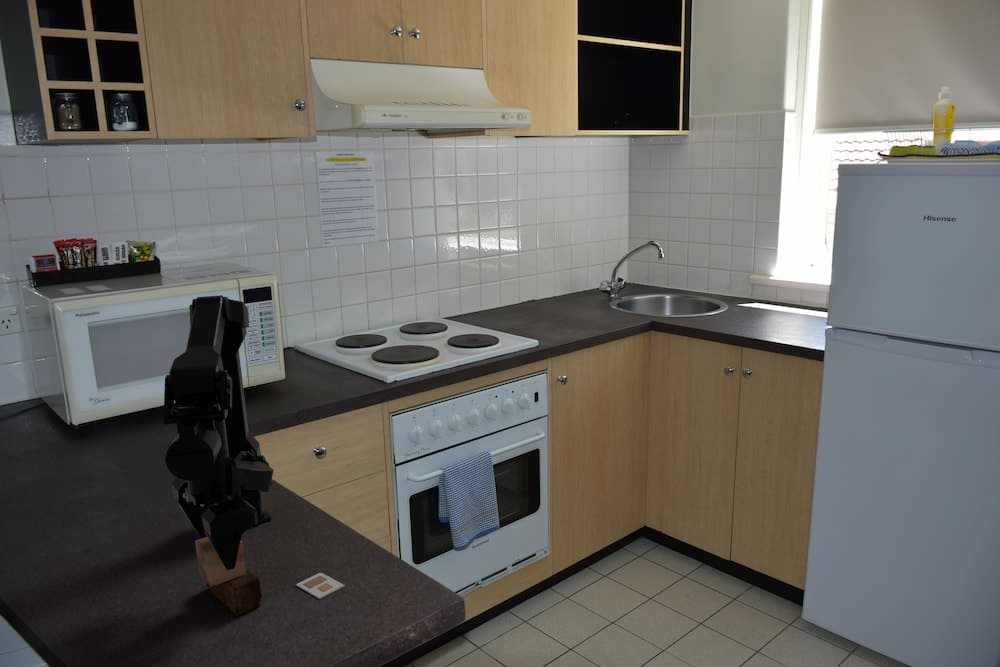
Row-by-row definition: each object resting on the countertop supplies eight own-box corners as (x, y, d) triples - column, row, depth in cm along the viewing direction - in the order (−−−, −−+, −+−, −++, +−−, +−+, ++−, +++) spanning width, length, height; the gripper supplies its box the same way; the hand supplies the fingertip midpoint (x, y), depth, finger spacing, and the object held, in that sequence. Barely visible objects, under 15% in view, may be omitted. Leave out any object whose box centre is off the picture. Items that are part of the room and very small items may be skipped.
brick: (264, 607, 109) (260, 576, 108) (237, 618, 106) (233, 587, 105) (232, 580, 116) (229, 552, 115) (206, 590, 114) (203, 561, 113)
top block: (199, 573, 110) (194, 540, 109) (234, 561, 113) (230, 529, 111) (210, 586, 106) (206, 553, 105) (246, 573, 109) (242, 541, 108)
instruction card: (295, 585, 114) (295, 583, 114) (320, 573, 117) (320, 571, 117) (319, 599, 110) (319, 597, 110) (344, 586, 113) (344, 584, 113)
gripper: (289, 455, 103) (300, 562, 106) (240, 423, 117) (252, 518, 121) (204, 478, 96) (219, 591, 100) (164, 441, 111) (178, 540, 114)
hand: (219, 556), depth 109 cm, fingers open, 9 cm apart
